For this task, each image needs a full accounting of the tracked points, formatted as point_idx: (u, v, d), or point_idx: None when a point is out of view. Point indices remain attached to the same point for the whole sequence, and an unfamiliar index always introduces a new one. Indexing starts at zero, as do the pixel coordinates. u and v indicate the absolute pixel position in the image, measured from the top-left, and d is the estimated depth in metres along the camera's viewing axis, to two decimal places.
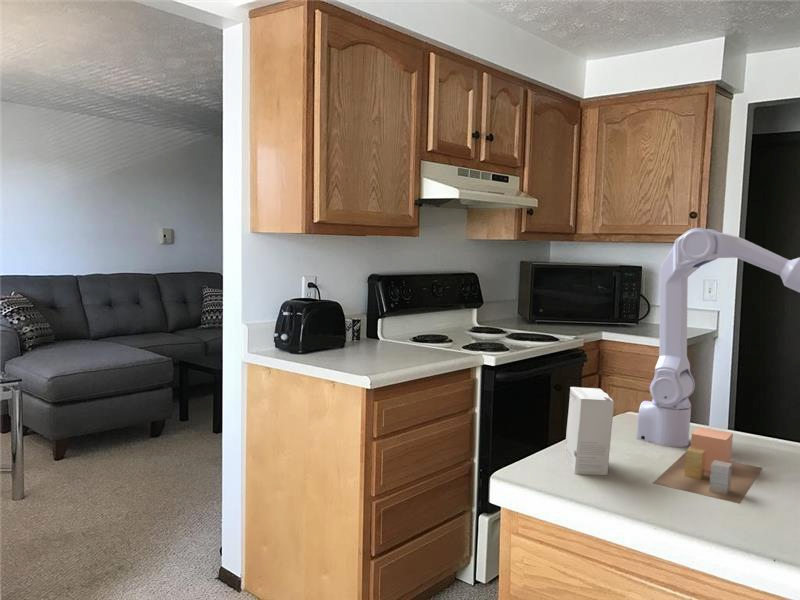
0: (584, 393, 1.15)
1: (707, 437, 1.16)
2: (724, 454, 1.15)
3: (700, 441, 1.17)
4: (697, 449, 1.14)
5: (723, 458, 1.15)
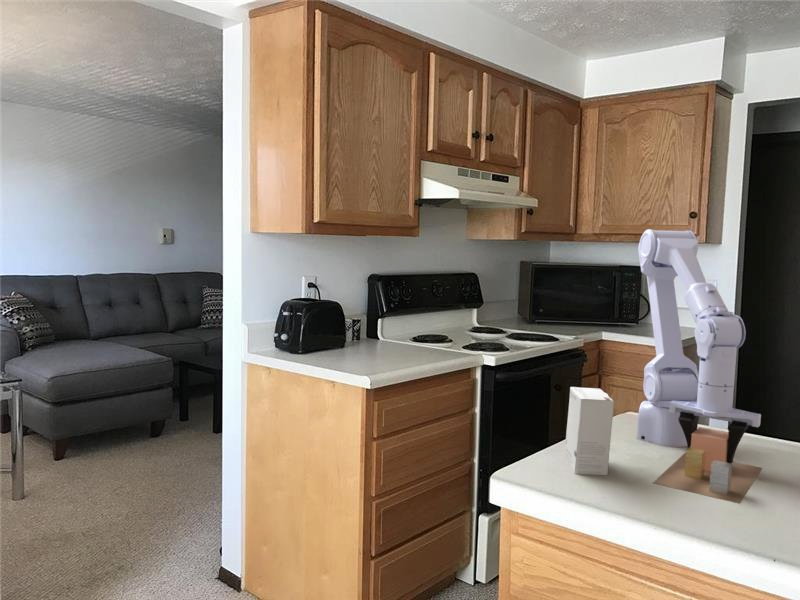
0: (584, 393, 1.15)
1: (707, 437, 1.16)
2: (724, 454, 1.15)
3: (700, 441, 1.17)
4: (697, 449, 1.14)
5: (723, 458, 1.15)
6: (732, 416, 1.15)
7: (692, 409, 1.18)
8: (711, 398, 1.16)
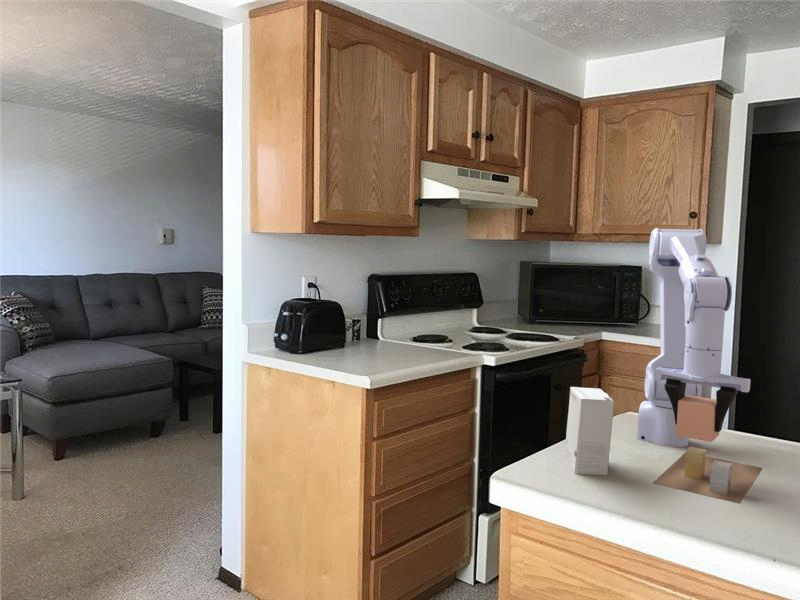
0: (584, 393, 1.15)
1: (694, 404, 1.11)
2: (712, 421, 1.09)
3: (687, 408, 1.12)
4: (697, 449, 1.14)
5: (711, 425, 1.10)
6: (720, 381, 1.09)
7: (679, 375, 1.13)
8: (699, 363, 1.10)
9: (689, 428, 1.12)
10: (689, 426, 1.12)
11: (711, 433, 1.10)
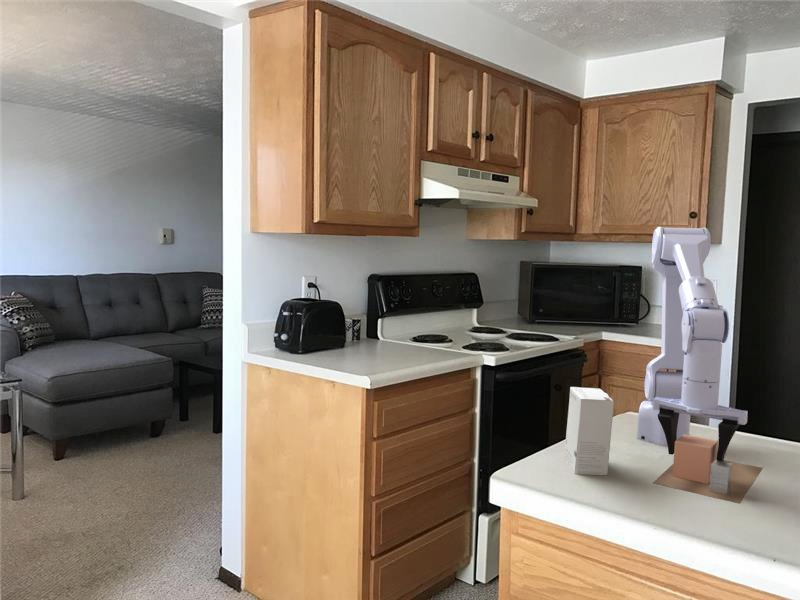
0: (584, 393, 1.15)
1: (691, 445, 1.11)
2: (708, 463, 1.10)
3: (683, 449, 1.12)
4: None
5: (707, 467, 1.10)
6: (717, 413, 1.09)
7: (676, 406, 1.13)
8: (696, 394, 1.10)
9: (685, 469, 1.12)
10: (685, 467, 1.12)
11: (707, 475, 1.10)
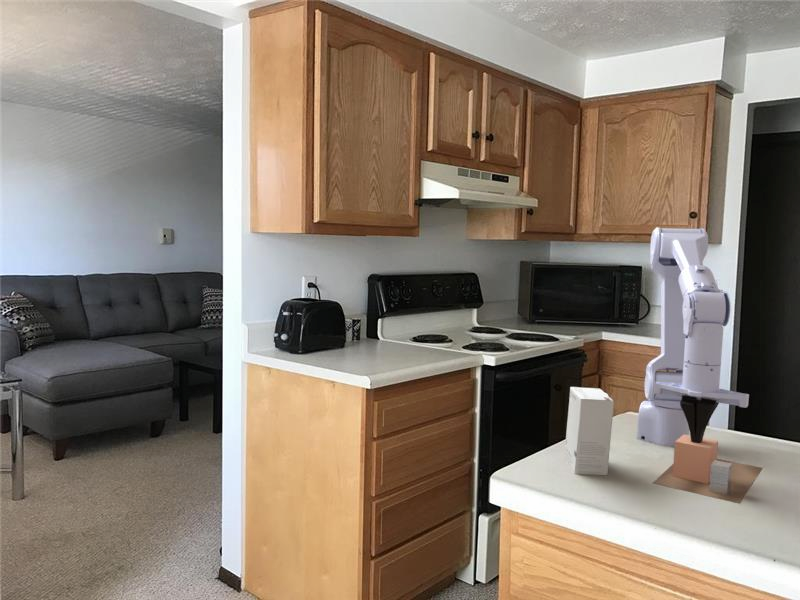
0: (584, 393, 1.15)
1: (691, 445, 1.11)
2: (708, 463, 1.10)
3: (683, 449, 1.12)
4: None
5: (707, 467, 1.10)
6: (719, 396, 1.09)
7: (677, 390, 1.13)
8: (697, 378, 1.10)
9: (685, 469, 1.12)
10: (685, 467, 1.12)
11: (707, 475, 1.10)
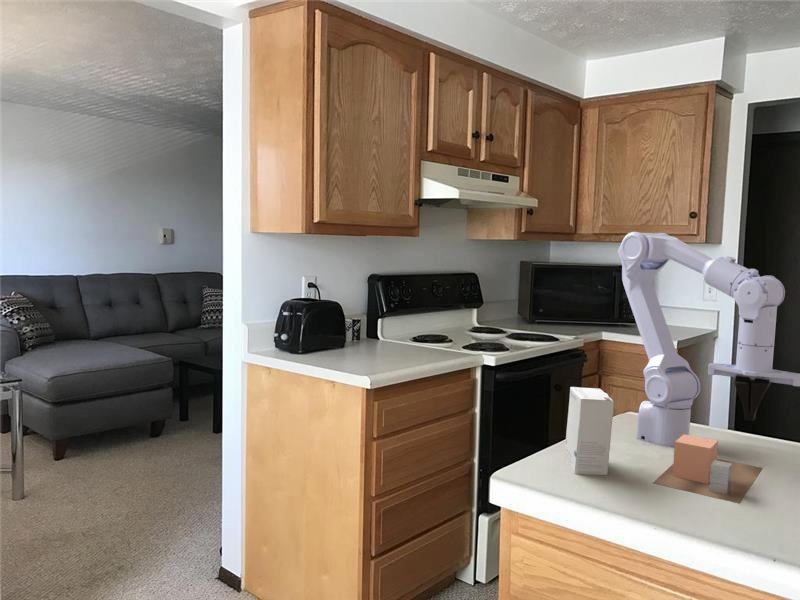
0: (584, 393, 1.15)
1: (691, 445, 1.11)
2: (708, 463, 1.10)
3: (683, 449, 1.12)
4: None
5: (707, 467, 1.10)
6: (773, 376, 1.15)
7: (732, 370, 1.19)
8: (752, 358, 1.16)
9: (685, 469, 1.12)
10: (685, 467, 1.12)
11: (707, 475, 1.10)
